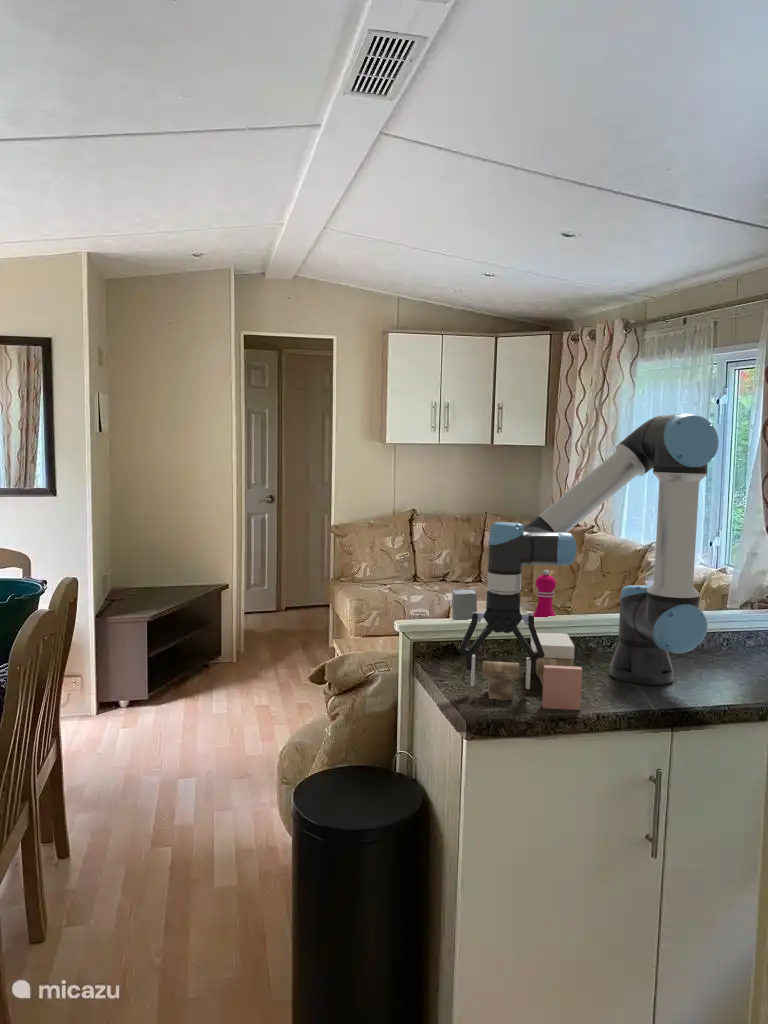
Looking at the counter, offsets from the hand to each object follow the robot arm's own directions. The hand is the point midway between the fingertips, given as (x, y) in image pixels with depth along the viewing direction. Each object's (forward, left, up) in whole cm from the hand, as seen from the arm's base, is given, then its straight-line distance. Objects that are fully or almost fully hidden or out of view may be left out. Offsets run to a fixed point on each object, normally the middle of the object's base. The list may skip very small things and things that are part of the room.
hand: (499, 685), depth 184 cm
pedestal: (0, 0, -2) cm, 2 cm away
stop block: (-13, +6, -2) cm, 15 cm away
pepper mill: (-16, -62, -3) cm, 64 cm away
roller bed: (-13, -10, -2) cm, 17 cm away
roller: (0, 0, +2) cm, 2 cm away
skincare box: (+8, -44, -3) cm, 45 cm away
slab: (-13, -16, +5) cm, 21 cm away
